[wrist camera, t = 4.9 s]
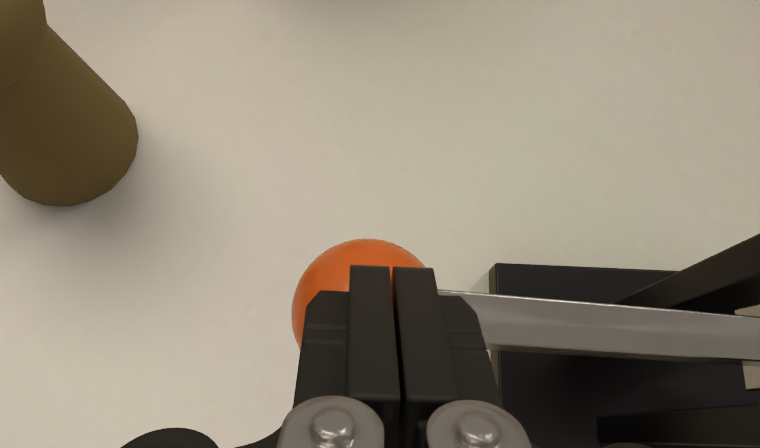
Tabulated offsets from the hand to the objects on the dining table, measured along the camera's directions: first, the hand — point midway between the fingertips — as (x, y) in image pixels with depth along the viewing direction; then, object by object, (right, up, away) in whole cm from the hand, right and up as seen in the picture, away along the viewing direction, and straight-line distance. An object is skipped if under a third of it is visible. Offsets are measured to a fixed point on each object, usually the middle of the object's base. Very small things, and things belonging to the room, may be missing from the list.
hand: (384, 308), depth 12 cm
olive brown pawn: (-14, +5, +17) cm, 23 cm away
